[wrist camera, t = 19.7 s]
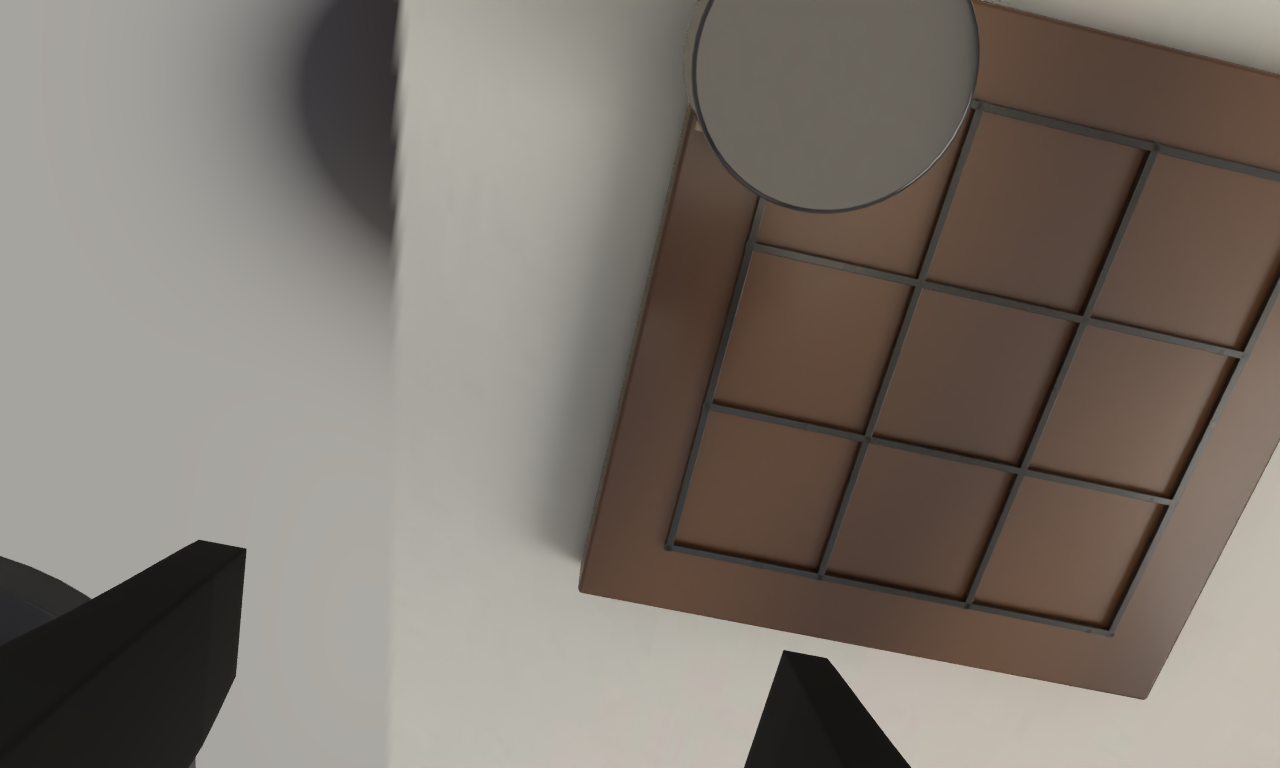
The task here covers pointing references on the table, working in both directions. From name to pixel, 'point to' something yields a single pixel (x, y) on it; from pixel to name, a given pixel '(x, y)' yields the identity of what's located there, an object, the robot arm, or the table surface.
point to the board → (968, 375)
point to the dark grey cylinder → (830, 93)
